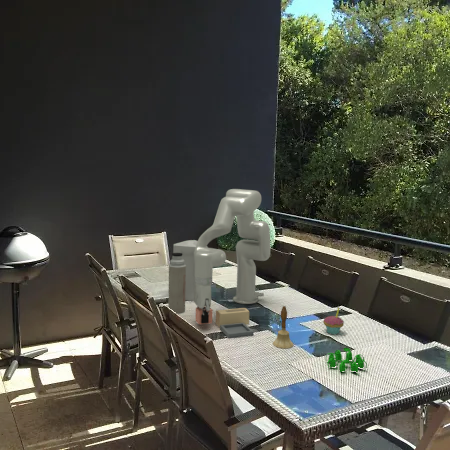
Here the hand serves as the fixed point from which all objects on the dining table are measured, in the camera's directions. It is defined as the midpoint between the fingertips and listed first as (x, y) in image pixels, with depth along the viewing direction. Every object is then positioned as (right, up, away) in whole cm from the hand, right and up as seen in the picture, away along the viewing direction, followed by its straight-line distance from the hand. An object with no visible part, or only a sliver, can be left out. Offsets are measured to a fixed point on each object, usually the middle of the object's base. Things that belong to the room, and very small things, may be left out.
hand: (202, 320), depth 220 cm
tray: (+15, -4, -5) cm, 16 cm away
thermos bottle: (-13, 0, +21) cm, 25 cm away
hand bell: (+33, -7, -17) cm, 38 cm away
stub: (0, -1, 0) cm, 1 cm away
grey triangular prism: (-10, +4, +43) cm, 45 cm away
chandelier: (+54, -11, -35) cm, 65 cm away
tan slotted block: (+13, -3, +5) cm, 14 cm away
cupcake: (+56, -5, -2) cm, 56 cm away
